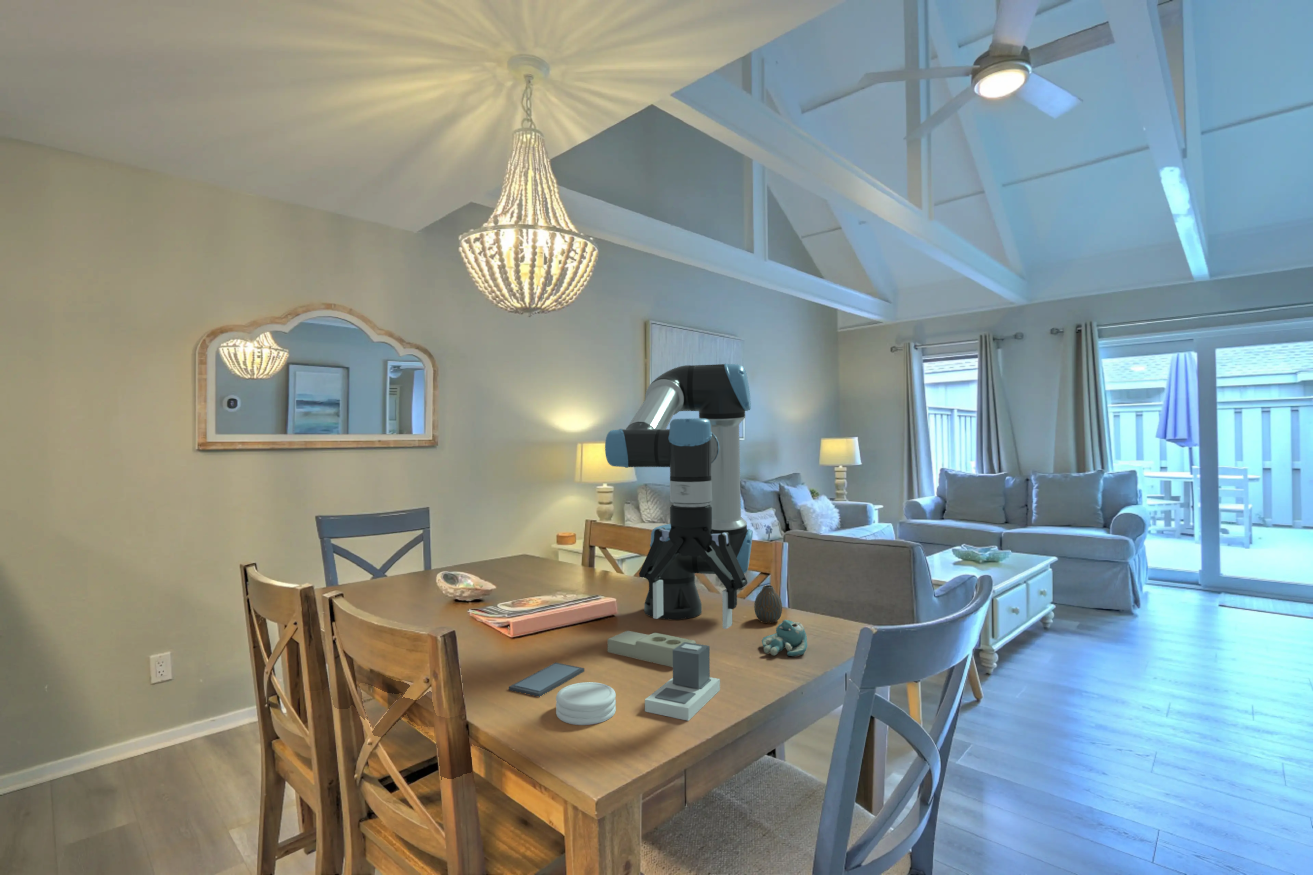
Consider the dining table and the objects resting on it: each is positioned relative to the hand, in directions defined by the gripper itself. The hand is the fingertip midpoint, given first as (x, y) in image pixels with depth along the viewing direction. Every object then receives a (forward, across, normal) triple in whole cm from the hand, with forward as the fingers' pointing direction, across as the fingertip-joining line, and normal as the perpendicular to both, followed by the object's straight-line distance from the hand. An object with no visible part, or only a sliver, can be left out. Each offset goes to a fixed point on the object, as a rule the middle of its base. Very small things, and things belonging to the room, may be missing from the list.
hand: (692, 621), depth 114 cm
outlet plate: (+13, 0, -4) cm, 13 cm away
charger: (+10, 0, -1) cm, 11 cm away
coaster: (+13, -13, -16) cm, 24 cm away
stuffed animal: (+14, +9, +29) cm, 33 cm away
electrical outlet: (+14, -16, +14) cm, 25 cm away
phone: (+13, -27, -7) cm, 31 cm away
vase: (+14, -1, +49) cm, 51 cm away
